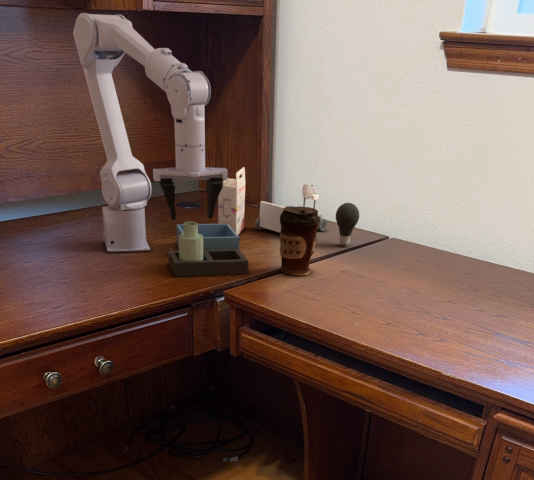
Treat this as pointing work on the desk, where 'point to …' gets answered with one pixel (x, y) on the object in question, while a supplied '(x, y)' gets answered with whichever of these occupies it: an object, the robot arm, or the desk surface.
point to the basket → (214, 236)
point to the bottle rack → (210, 263)
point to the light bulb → (346, 221)
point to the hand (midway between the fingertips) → (191, 218)
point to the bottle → (190, 243)
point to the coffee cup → (297, 238)
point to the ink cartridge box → (232, 202)
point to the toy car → (272, 211)
